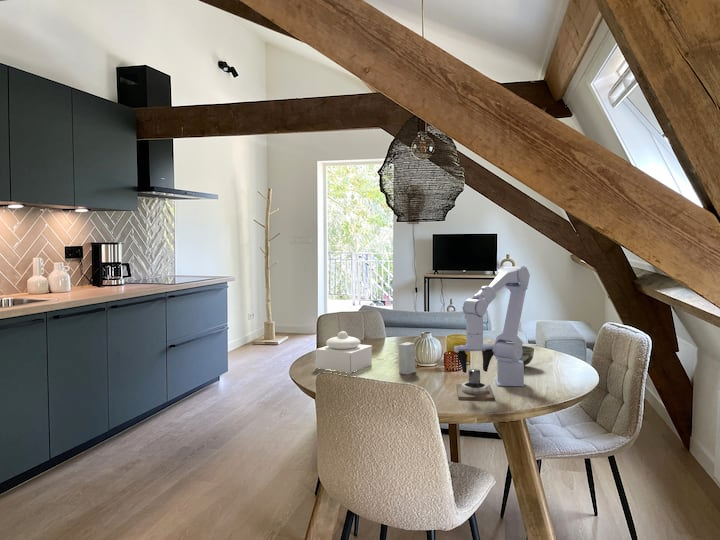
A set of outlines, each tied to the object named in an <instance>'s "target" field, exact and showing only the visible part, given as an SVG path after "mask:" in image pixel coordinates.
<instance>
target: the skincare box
mask: <svg viewBox="0 0 720 540" xmlns="http://www.w3.org/2000/svg"><path fill="white" fill-rule="evenodd" d="M398 367H399V368H398V369H399V370H398V372H399V374H403V375H406V376H407V375H410V374H412V373H415V372H416V343H415V342H409V341H408V342H407V341H406V342H402V343H399V344H398Z"/></svg>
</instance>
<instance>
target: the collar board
mask: <svg viewBox="0 0 720 540" xmlns="http://www.w3.org/2000/svg"><path fill="white" fill-rule="evenodd" d="M455 387H456V392H457V397H458V400H464V401H465V400H466V401H468V400H469V401H496V397H495V394H494V392H493V389H492V387H491V385H490V384H487V383H485V382H482V381H480V387H479V388H475V387H469V381H465V382H463V383H461V384H460V383H459V384H458V383H457V384H456V385H455Z"/></svg>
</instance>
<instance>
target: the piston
mask: <svg viewBox="0 0 720 540" xmlns="http://www.w3.org/2000/svg"><path fill="white" fill-rule="evenodd" d="M467 371H468V382H469V387H475V388H479V387H480V382H481V370H480V369H477V368H471V369H468V370H467Z"/></svg>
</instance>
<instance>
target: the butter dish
mask: <svg viewBox="0 0 720 540" xmlns="http://www.w3.org/2000/svg"><path fill="white" fill-rule="evenodd" d="M325 345H326V346H323V347H318V348H316V350H315V354H314V355H315V369H316V368H320V369H331V370H336V371H341V372H347V373H346V374H348V373H352V372H354V371H356V370H359V371H361V370H363V369H362V368H364V369H366V368H368V366H369V367H371V366H373V363H372V361H373V359H372V358H373V357H372V355H373V354H372V353H373V352H372V351H373V350H372V349H373V345H370V344H361V340H360V339H359V338H357V337H354V336H349V335H348V333H347V331H344V330H343V331H339V332H338V333H337V336H333V337H331V338H329V339H327V340H326V341H325ZM370 365H371V366H370ZM365 367H366V368H365ZM360 369H361V370H360ZM341 372H340V373H341ZM356 372H357V371H356ZM354 373H355V372H354ZM352 374H353V373H352Z"/></svg>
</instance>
